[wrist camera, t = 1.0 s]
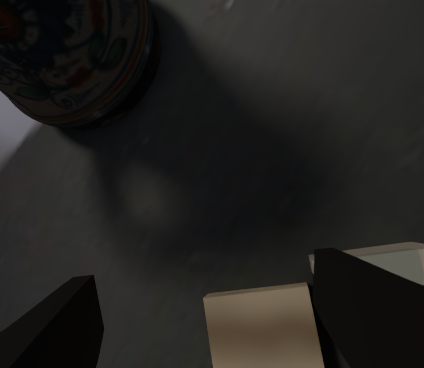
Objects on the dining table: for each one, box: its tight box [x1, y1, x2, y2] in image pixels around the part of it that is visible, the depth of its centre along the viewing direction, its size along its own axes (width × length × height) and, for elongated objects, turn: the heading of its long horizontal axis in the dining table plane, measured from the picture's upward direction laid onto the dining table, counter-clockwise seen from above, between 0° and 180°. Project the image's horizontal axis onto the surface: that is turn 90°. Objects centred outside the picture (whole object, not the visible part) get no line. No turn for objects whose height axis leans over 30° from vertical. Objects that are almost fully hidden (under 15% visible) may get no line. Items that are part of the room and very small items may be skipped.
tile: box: [203, 282, 324, 368], centre depth 23 cm, size 7×8×2 cm
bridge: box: [309, 242, 424, 285], centre depth 19 cm, size 11×7×4 cm, turn 8°
